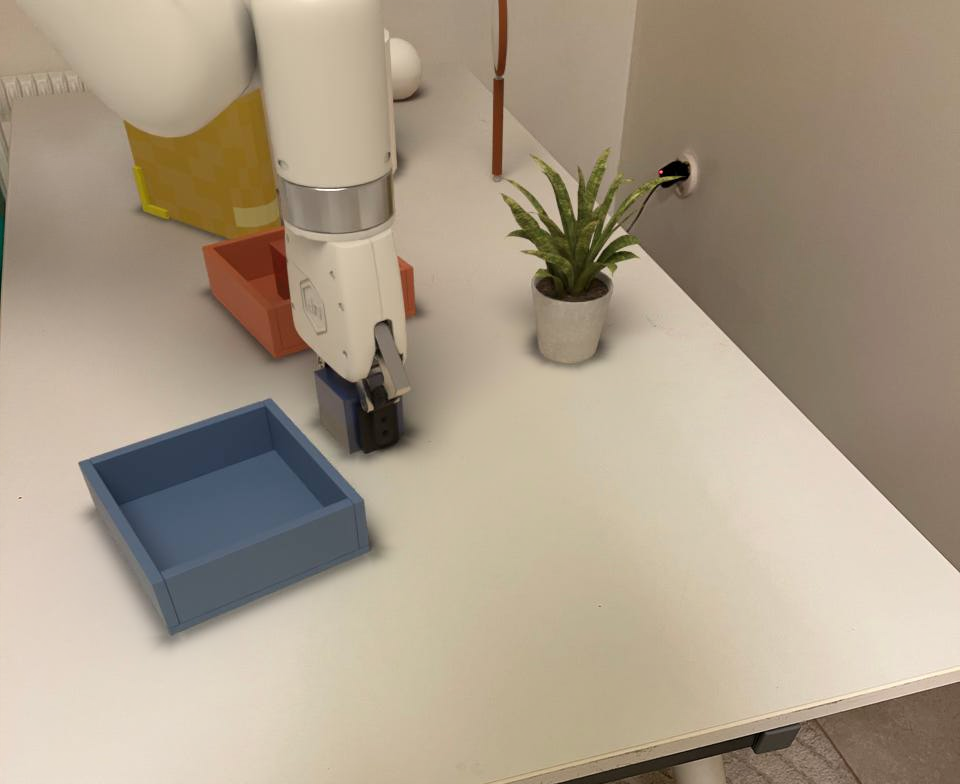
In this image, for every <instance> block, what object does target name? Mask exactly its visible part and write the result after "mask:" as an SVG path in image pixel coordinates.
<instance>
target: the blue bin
mask: <svg viewBox="0 0 960 784" xmlns="http://www.w3.org/2000/svg"><path fill="white" fill-rule="evenodd" d="M77 465H78V467H79V469H80V472H81V474H82V477H83V479H84V482H85V484H86V487H87V489H88V492H89V495H90V497H91V500H92V502H93V504H94V505H93V506H94V507H95V510H96V512H97V514H98V516H99V518H100V520H101V521H102V523H103V524H104V526H105V528H106V530H107V532H108V533H109V535H110V536H111V538H112V540H113V542H114V543H115V544H116V547H117V548H118V550H119V552H120V553H121V555H122V557H123V559H124V560H125V562H126V563H127V565H128V567H129V568H130V570H131V572H132V574H133V575H134V577H135V579H136V580H137V582H138V584H139V585H140V587H141V589H142V590H143V593H144V594H145V596H146V597H147V599H148V601H149V603H150V604H151V606H152V607H153V609H154V610H155V612H156V614H157V616H158V617H159V619H160V621H161V622H162V624H163V626H164V627H165V629H166V631H167V633H168V634H169V635H170V636H174V635H177V634H179V633H181V632H183V631H187V630H188V629H190V628H193V627H195V626H198V625H200V624H202V623H205V622H208V621H209V620H212V619H214V618H216V617H219V616H221V615H223V614H226V613H228V612H231V611H233V610H236V609H238V608H241V607H243V606H245V605H247V604H250V603H252V602H254V601H257V600H259V599H261V598H264V597H266V596H269V595H271V594H274V593H276V592H278V591H281V590H282V589H285V588H287V587H290V586H292V585H294V584H297V583H299V582H302V581H303V580H306V579H308V578H311V577H313V576H315V575H318V574H321V573H323V572H325V571H327V570H329V569H332V568H334V567H337V566H340V565H342V564H344V563H346V562H349V561H351V560H353V559H356V558H359V557H360V556H361V557H362V556H363V555H365V554H368V553H369V552H370V551H371V549H370V548H371V547H370V540H369V531H368V524H367V523H368V522H367V514H366V505H365V499H364V498H363V497H362V496H361V495H360V494H359V492H358V491H356V489H355V488H354V487H353V486H352V485H351V484H350V483H349V482H348V481H347V480H346V478H345V477H344V476H343V475H342V474H341V473H340V472H339V471H338V470H337V469H336V468H335V467H334V465H333V464H332V463H331V462H330V461H329V460H328V459H327V458H326V456H324V454H323V453H322V452H321V451H320V450H319V449H318V448H317V446H315V444H313V442H312V441H311V440H310V439H309V438H308V436H306V435H305V434H304V432H303V431H302V430H301V429H300V428H299V427H298V426H297V425H296V424H295V423H294V421H292V419H291V418H290V417H289V416H288V415H287V414H286V413H285V412H284V410H282V409H281V407H280V406H279V405H278V404H277V403H276V402H275V401H274V399H273V398H272V397H269V398H266V399H262V400H259V401H256V402H253V403H250V404H248V405H244V406H241V407H238V408H235V409H233V410H229V411H227V412H223V413H221V414H218V415H214V416H212V417H209V418H206V419H202V420H200V421H197V422H194V423H190V424H188V425H185V426H184V425H183V426H181V427H178V428H175V429H173V430H170V431H166V432H163V433H160V434H158V435H155V436H151V437H149V438H146V439H143V440H140V441H136V442H134V443H131V444H128V445H125V446H122V447H118V448H115V449H113V450H110V451H106V452H104V453H101V454H98V455H95V456H92V457H89V458H87V459H83V460H80V461H78V463H77Z"/></svg>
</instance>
